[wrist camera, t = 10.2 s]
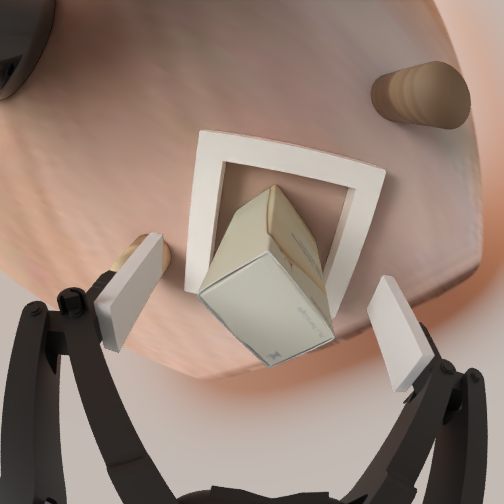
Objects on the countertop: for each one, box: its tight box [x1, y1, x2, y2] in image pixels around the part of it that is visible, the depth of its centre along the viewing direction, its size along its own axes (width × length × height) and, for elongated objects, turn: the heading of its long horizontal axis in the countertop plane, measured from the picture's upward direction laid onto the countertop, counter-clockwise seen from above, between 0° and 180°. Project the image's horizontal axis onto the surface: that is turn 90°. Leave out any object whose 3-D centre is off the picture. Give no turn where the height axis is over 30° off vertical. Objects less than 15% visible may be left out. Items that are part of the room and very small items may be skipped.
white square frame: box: [184, 129, 386, 318], centre depth 23 cm, size 14×14×2 cm
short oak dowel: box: [110, 234, 171, 275], centre depth 24 cm, size 4×4×5 cm
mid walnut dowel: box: [371, 61, 471, 129], centre depth 15 cm, size 4×4×8 cm
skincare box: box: [197, 185, 335, 368], centre depth 19 cm, size 6×4×12 cm
